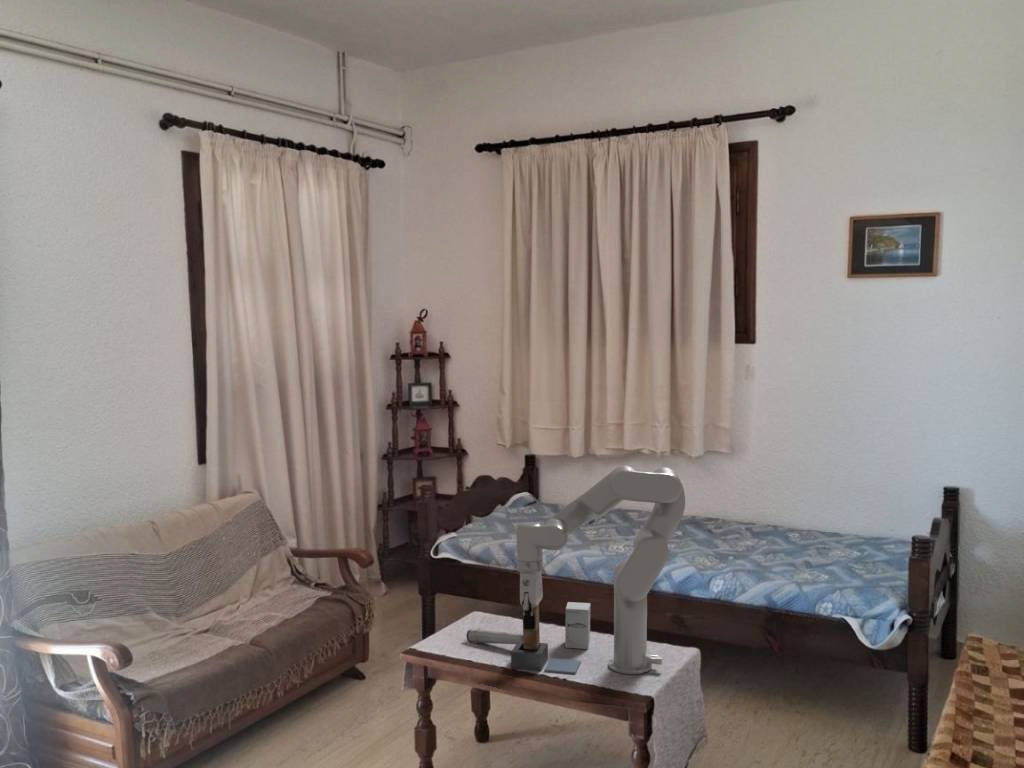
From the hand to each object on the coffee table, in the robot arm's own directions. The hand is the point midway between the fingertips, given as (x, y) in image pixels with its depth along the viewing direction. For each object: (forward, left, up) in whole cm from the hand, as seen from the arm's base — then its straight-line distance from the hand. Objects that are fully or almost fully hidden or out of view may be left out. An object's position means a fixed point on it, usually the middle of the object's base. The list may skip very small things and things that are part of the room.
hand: (531, 625), depth 257 cm
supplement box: (-11, -19, -12) cm, 25 cm away
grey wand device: (+11, -11, -12) cm, 20 cm away
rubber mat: (-10, 0, -12) cm, 15 cm away
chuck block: (0, 0, -12) cm, 12 cm away
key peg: (0, 0, -6) cm, 6 cm away
